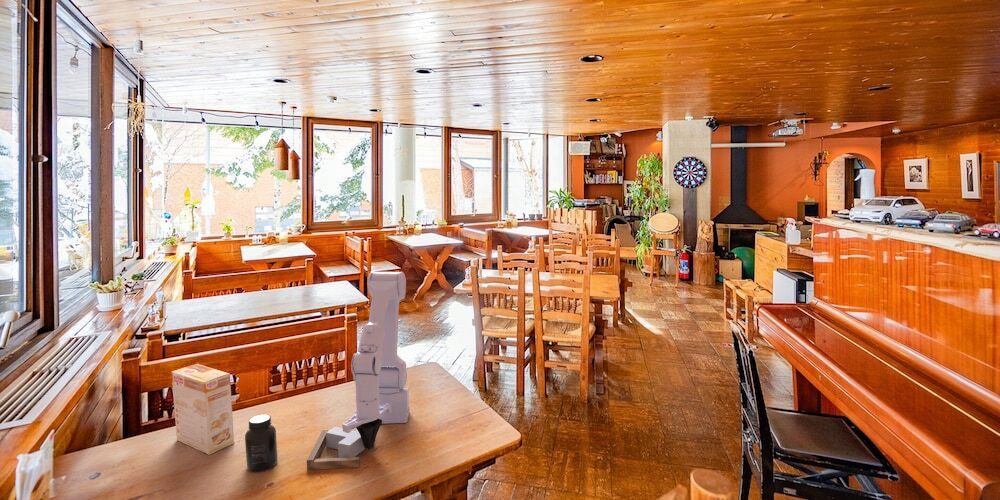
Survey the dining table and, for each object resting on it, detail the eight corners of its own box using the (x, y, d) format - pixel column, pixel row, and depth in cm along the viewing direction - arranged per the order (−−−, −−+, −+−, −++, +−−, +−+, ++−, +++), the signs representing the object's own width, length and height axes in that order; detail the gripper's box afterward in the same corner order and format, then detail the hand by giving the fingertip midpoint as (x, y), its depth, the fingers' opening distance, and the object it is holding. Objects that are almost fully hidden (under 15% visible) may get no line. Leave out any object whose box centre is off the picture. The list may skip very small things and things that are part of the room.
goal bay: (368, 436, 131) (368, 428, 130) (359, 467, 116) (358, 457, 116) (322, 438, 129) (322, 430, 129) (307, 469, 115) (306, 460, 115)
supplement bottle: (284, 460, 119) (281, 414, 118) (262, 475, 113) (259, 427, 111) (262, 454, 121) (260, 410, 120) (240, 469, 115) (237, 422, 114)
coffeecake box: (235, 443, 127) (231, 373, 124) (208, 456, 121) (203, 382, 118) (202, 429, 134) (197, 362, 131) (175, 440, 128) (169, 371, 125)
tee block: (373, 441, 128) (373, 427, 128) (349, 460, 119) (349, 445, 118) (343, 435, 132) (343, 421, 131) (317, 453, 122) (317, 438, 122)
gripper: (378, 384, 130) (379, 431, 131) (333, 403, 118) (335, 455, 119) (396, 390, 126) (397, 439, 127) (352, 410, 114) (354, 464, 115)
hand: (368, 447), depth 123 cm, fingers closed
